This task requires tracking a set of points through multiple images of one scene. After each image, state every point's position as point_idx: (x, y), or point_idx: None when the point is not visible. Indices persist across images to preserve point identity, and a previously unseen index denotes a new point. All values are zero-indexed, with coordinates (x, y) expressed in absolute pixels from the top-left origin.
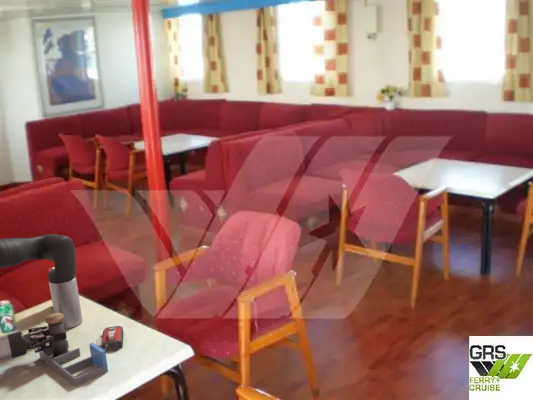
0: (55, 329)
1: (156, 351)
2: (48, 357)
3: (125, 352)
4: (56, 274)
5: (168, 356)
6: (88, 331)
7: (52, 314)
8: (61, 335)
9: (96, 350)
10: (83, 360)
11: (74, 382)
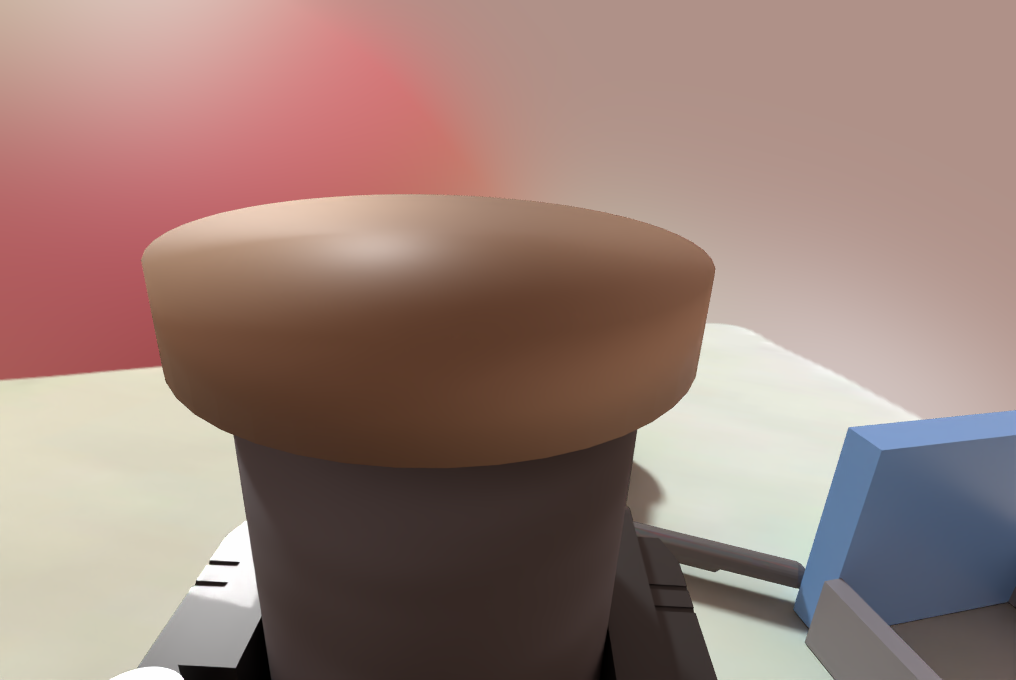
0: (621, 528)
1: (734, 373)
2: None
3: (686, 446)
4: None
5: (804, 362)
6: (147, 517)
7: (223, 231)
8: (670, 576)
9: (1003, 452)
10: (917, 655)
11: None
